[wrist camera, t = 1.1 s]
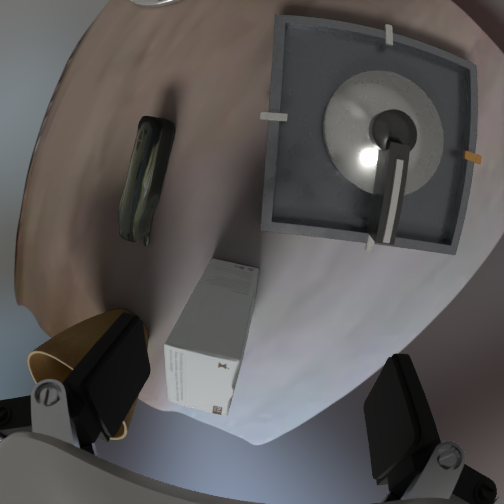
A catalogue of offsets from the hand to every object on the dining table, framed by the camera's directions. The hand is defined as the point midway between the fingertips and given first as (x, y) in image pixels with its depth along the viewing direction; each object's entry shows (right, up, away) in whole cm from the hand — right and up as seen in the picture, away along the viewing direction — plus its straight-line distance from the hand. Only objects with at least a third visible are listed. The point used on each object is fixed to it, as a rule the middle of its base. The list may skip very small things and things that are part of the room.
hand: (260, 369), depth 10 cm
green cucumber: (-11, +12, +21) cm, 27 cm away
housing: (+12, +16, +15) cm, 25 cm away
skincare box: (-3, -1, +24) cm, 25 cm away
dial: (+12, +14, +14) cm, 23 cm away
